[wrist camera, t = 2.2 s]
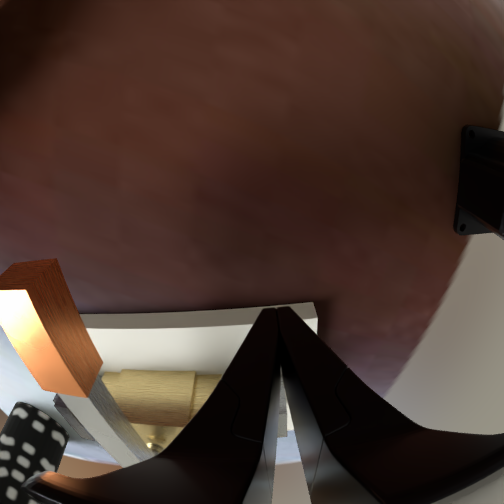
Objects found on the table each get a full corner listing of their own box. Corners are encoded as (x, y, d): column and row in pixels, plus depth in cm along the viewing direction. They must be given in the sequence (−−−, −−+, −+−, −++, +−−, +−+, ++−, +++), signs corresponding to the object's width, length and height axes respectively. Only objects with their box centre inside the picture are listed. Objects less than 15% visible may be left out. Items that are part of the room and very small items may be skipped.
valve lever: (177, 456, 15) (171, 493, 13) (145, 452, 15) (137, 488, 13) (71, 244, 9) (25, 289, 6) (28, 250, 9) (-16, 290, 6)
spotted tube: (64, 445, 29) (31, 556, 11) (14, 414, 26) (-29, 521, 8) (74, 431, 26) (34, 566, 8) (16, 393, 24) (-40, 523, 6)
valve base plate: (313, 302, 17) (317, 317, 16) (306, 413, 22) (309, 428, 21) (33, 313, 18) (23, 325, 16) (93, 410, 23) (88, 422, 22)
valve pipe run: (282, 366, 17) (289, 424, 14) (284, 408, 20) (288, 458, 16) (62, 363, 18) (40, 405, 14) (88, 402, 20) (73, 442, 16)
